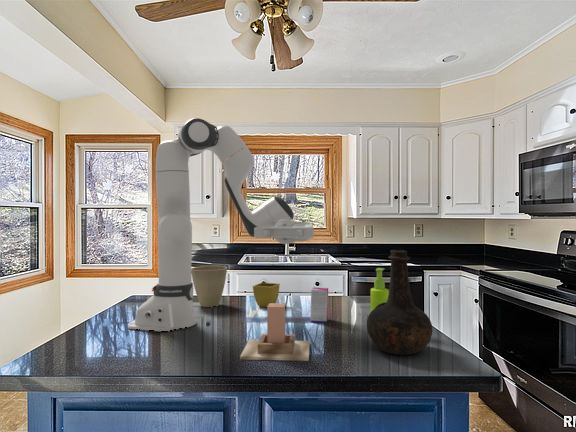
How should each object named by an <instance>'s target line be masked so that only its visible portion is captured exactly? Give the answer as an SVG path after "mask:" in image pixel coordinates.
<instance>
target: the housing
mask: <svg viewBox="0 0 576 432" xmlns="http://www.w3.org/2000/svg"><path fill="white" fill-rule="evenodd" d="M295 336H296V335H295V333H293V334H290V333H289V334H287V333H285V343H268V333H262V334H261V335H260V338H259V339H248V341H247V343H246V344H245V347H244V349H243V350H242V352H241V354H240V356H239V360H245V361H246V360H248V361H249V360H250V361H252V360H253V361H255V360H256V361H257V360H258V361H292V362H293V361H295V362H296V361H299V362H304V361H305V362H309V361H310V360H309V359H310V346H311V345H310V344H311V343H310V340H296V339H295V338H296V337H295Z"/></svg>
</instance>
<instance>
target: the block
mask: <svg viewBox="0 0 576 432" xmlns="http://www.w3.org/2000/svg"><path fill="white" fill-rule="evenodd" d="M266 308H267V311H266V312H267V316H266V319H267V322H266V323H267V328H266V329H267V332H266V333H267V334H268V343H285V334H286V303H282V302H281V303H280V302H279V303H278V302H276V303H269V305H268V307H266Z"/></svg>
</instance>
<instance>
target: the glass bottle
mask: <svg viewBox="0 0 576 432" xmlns="http://www.w3.org/2000/svg"><path fill="white" fill-rule="evenodd" d="M389 252H390V255H388V257H387V258H388V259H389V260H390V279H389V289H388V290H389V295H388V300H387V302H386V303H381V304H379V305H378V306H376V307H375V309H374V310H372V312H371V311H370V313H369V315H367V319H366V330H367V331H366V332H367V333H368V336H369V338H370V339H371V341H372V342H373V344H374V345H375V346H376V347H377V348H379V350H381V351H383V352H385V353H386V354H391V355H396V356H397V355H398V356H409V355H415V354H416V353H419V352H421V351H422V350H424V348H426V347H427V346H428V344H429V342H430V341H431V339H432V336H433V325H432V321H431V319H430V317H429V316H428V315H427V313H425V312H424V311H423V310H421V308H418V307H417V306H416V305H415V303H414V301H413V298H412V293H411V289H410V283H409V282H410V280H409V271H408V260H410V259H411V257H410V256H408V251H407V250H403V249H391V250H390V251H389Z"/></svg>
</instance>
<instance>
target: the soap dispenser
mask: <svg viewBox="0 0 576 432" xmlns="http://www.w3.org/2000/svg"><path fill="white" fill-rule="evenodd" d="M384 270H386V269H385V268H384V267H377V268H376V269H375V272H376V277H375V278H373V281H374V283H373V285H374V286H373V287H372V288H370V313H371V312H372V310H374V309H375V307H376V306H378V305H379V304H381V303H386V302H387V300H388V295H389V289H388V288H385V287H386V285H385V284H386V282H385V280H386V279H385V278H384V277H383V271H384Z"/></svg>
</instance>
